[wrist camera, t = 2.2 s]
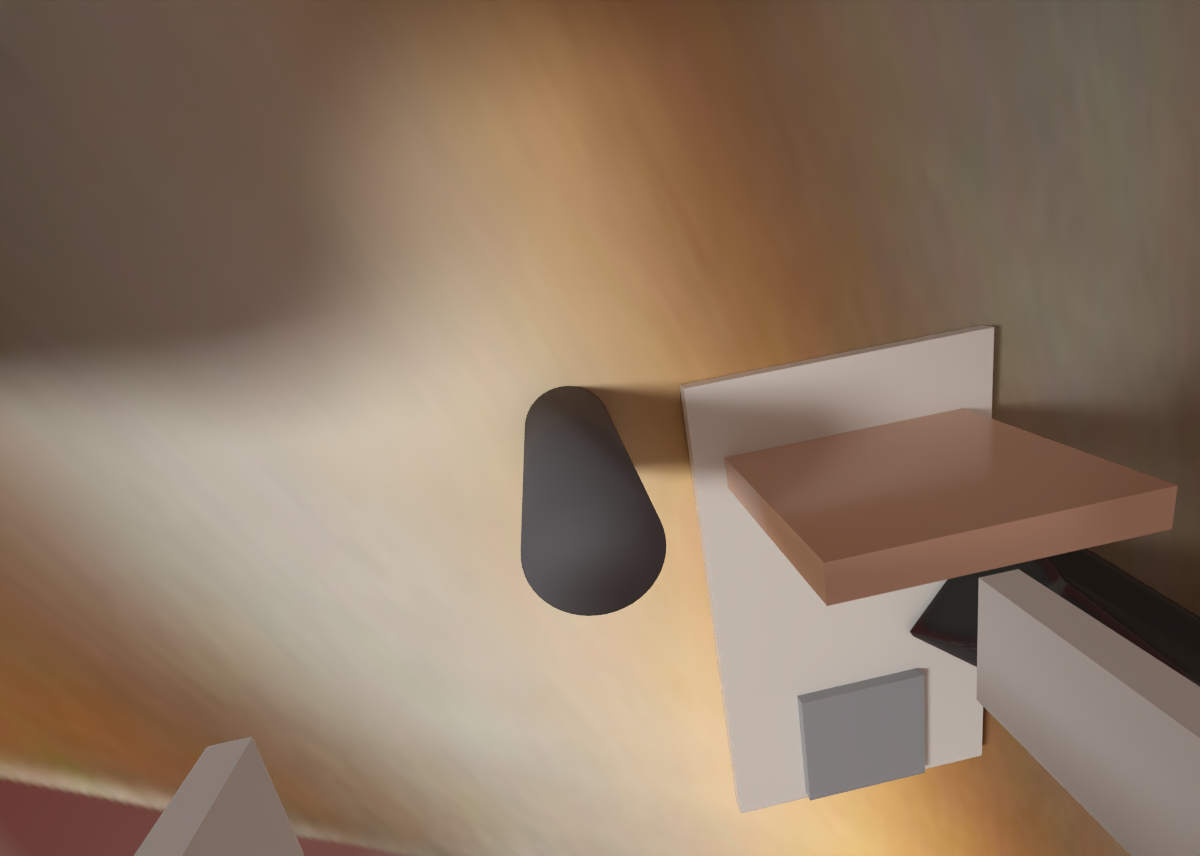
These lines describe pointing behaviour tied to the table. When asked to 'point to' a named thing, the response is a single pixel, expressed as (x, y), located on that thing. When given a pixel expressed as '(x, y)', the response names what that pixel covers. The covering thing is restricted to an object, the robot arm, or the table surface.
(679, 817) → the table surface
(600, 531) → the tool handle
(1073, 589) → the barrier
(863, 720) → the board
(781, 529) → the tile
